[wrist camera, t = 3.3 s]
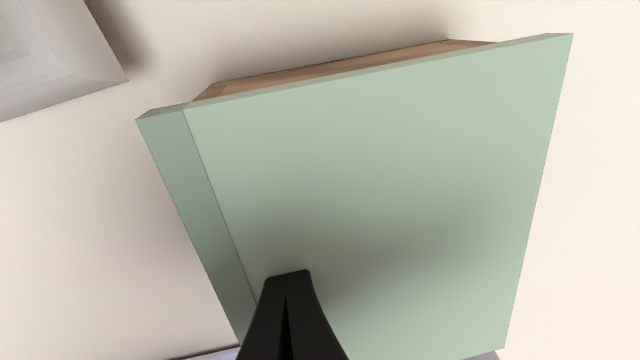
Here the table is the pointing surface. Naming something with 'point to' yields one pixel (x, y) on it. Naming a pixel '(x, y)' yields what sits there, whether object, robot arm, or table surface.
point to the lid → (374, 192)
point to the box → (334, 67)
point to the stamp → (51, 55)
